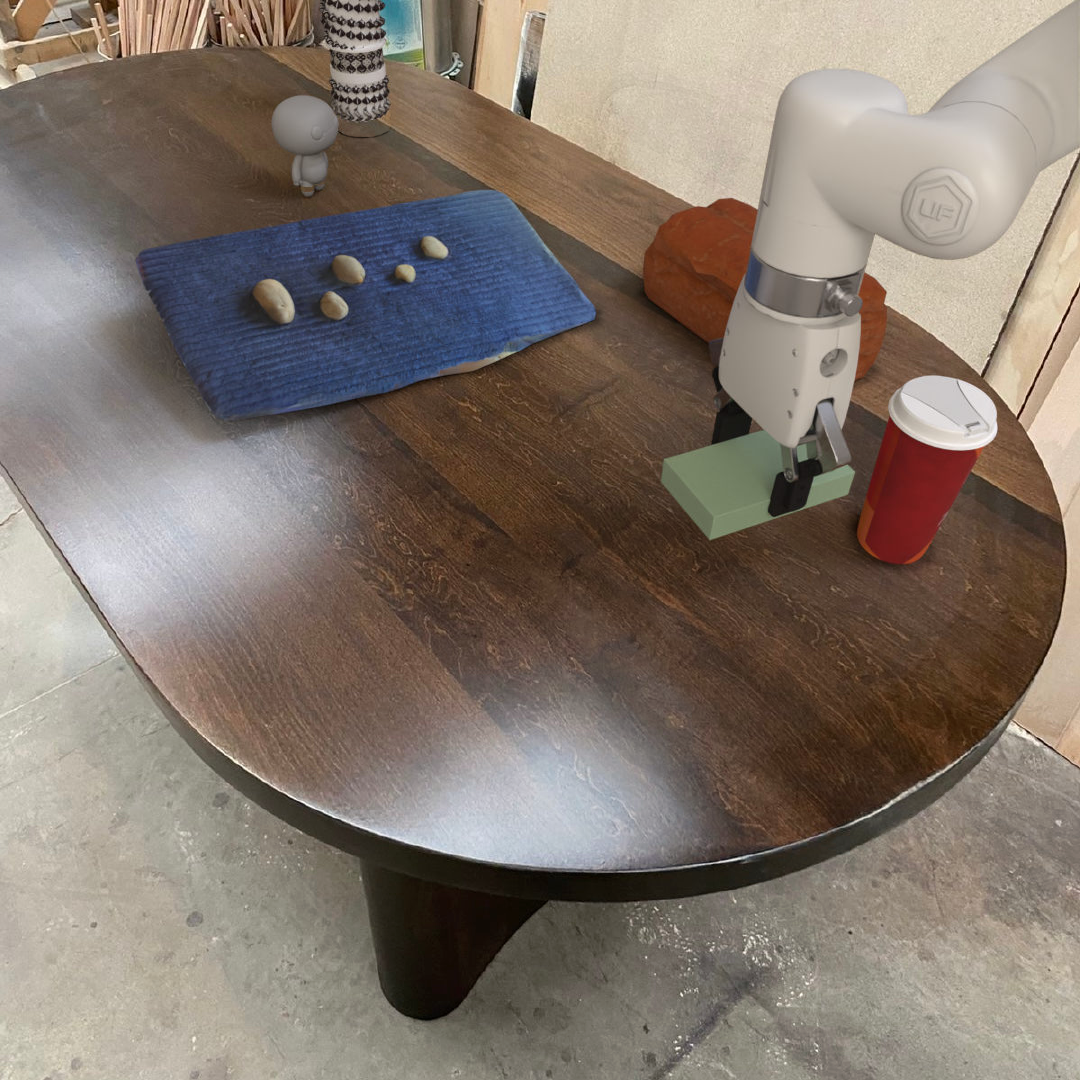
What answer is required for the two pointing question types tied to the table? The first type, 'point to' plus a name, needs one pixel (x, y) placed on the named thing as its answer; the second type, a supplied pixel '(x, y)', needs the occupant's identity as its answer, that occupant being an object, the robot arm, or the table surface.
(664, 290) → the bread
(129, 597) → the table surface
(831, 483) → the sage green foam block
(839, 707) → the table surface
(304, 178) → the figurine
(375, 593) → the table surface
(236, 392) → the mat
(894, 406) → the coffee cup
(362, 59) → the decorative candle
